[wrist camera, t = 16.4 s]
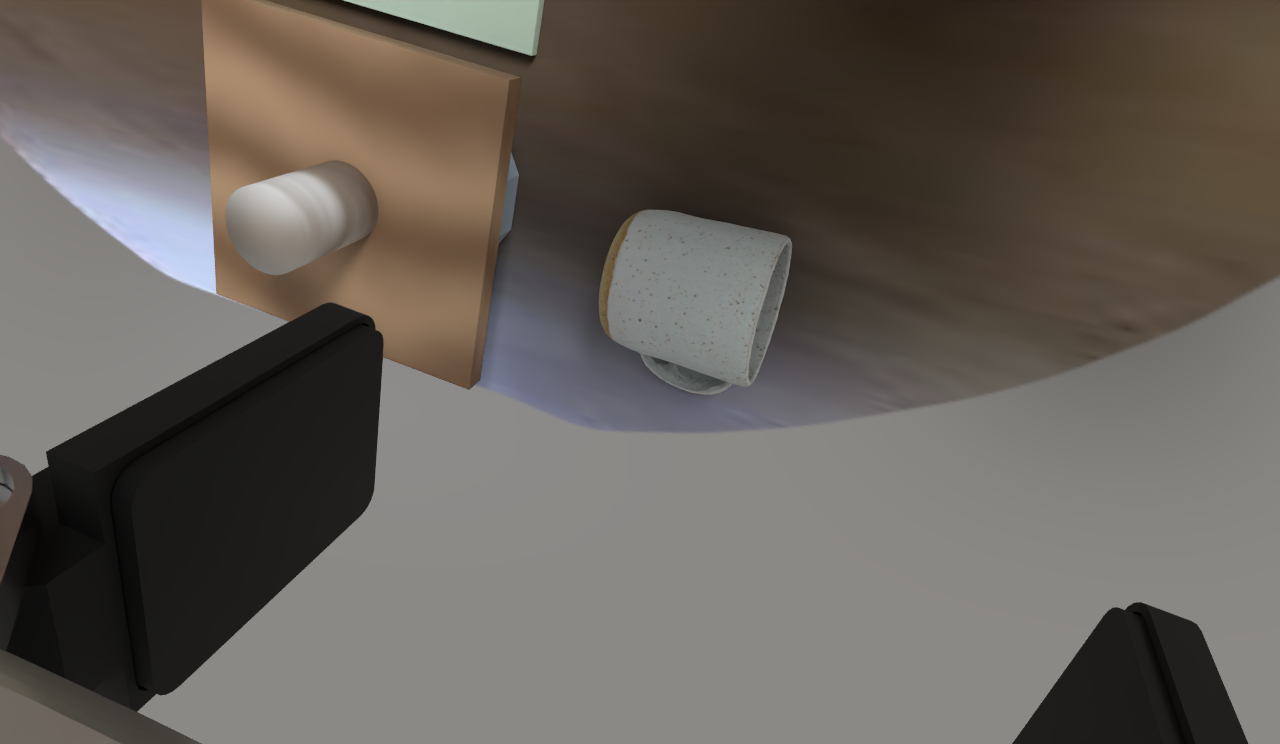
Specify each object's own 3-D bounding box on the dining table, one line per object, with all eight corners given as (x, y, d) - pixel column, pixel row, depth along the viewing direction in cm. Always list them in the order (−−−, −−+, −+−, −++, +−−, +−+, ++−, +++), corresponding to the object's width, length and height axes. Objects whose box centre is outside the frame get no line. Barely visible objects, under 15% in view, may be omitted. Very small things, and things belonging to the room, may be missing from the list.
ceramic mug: (647, 187, 42) (595, 228, 36) (801, 217, 40) (775, 266, 34) (627, 363, 47) (579, 427, 41) (763, 397, 46) (734, 469, 39)
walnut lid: (220, -14, 38) (93, -12, 33) (521, 77, 36) (441, 96, 30) (232, 286, 46) (131, 330, 40) (480, 380, 43) (410, 441, 38)
